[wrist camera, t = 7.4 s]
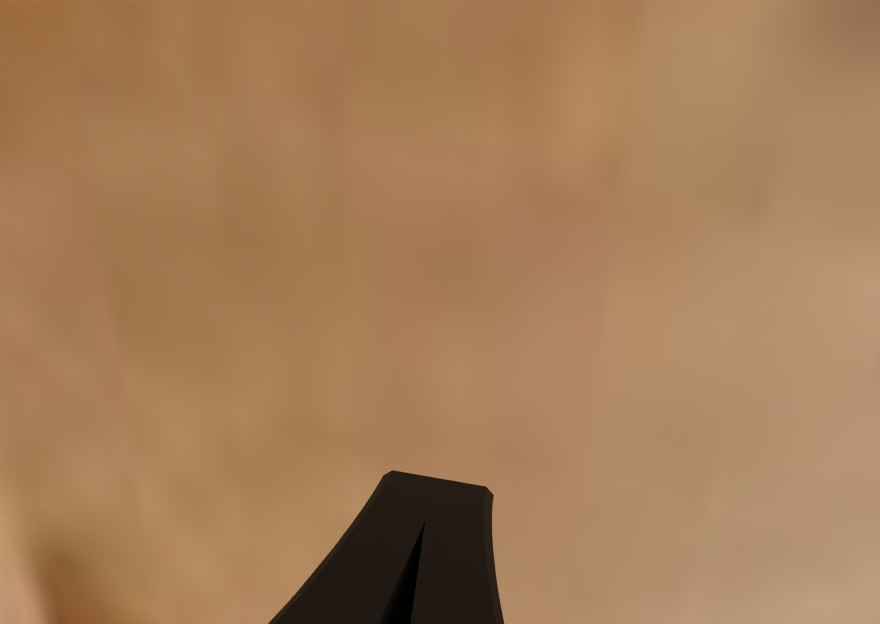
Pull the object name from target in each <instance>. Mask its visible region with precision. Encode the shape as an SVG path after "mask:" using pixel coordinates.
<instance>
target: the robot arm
mask: <svg viewBox="0 0 880 624" xmlns="http://www.w3.org/2000/svg"><path fill="white" fill-rule="evenodd" d="M493 496H494V495H493V494H492V493H491V492H490V491H489V489H488V488H487V487H485V486H479V485H473V484H467V483H462V482H456V481H450V480H445V479H439V478H433V477H427V476H422V475H416V474H410V473H405V472H399V471H393V470H392V471H391V472H389V473H387V474H385V475H384V476H383V477H382V479H381V481H380V482H379V484H378V486H377V487H376V489H375V491H374V492H373V494H372V495H371V497H370V498H369V500H368V501H367V503H366V504H365V506H364V507H363V509H362V510H361V511H360V513H359V514H358V516H357V517H356V519H355V520H354V521H353V523H352V524H351V525H350V527H349V528H348V529H347V531H346V532H345V533H344V535H343V536H342V537H341V539H340V540H339V541H338V543H337V544H336V545H335V547H334V548H333V549H332V550H331V552H330V553H329V554H328V555H327V556H326V558H325V559H324V560H323V561H322V562H321V564H320V565H319V566H318V567H317V569H316V570H315V571H314V572H313V573H312V575H311V576H310V577H309V578H308V580H307V581H306V582H305V583H304V584H303V586H302V587H301V588H300V589H299V590H298V592H297V593H296V594H295V595H294V596H293V597H292V598H291V600H290V601H289V602H288V603H287V604H286V605H285V606H284V607H283V608H282V609H281V610H280V612H279V613H278V614H277V615H276V616H275V617H274V618H273V619H272V620H271V621H270V622H269V623H268V624H504V620H503V615H502V610H501V605H500V599H499V593H498V587H497V580H496V572H495V563H494V554H493V541H492V504H493Z"/></svg>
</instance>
